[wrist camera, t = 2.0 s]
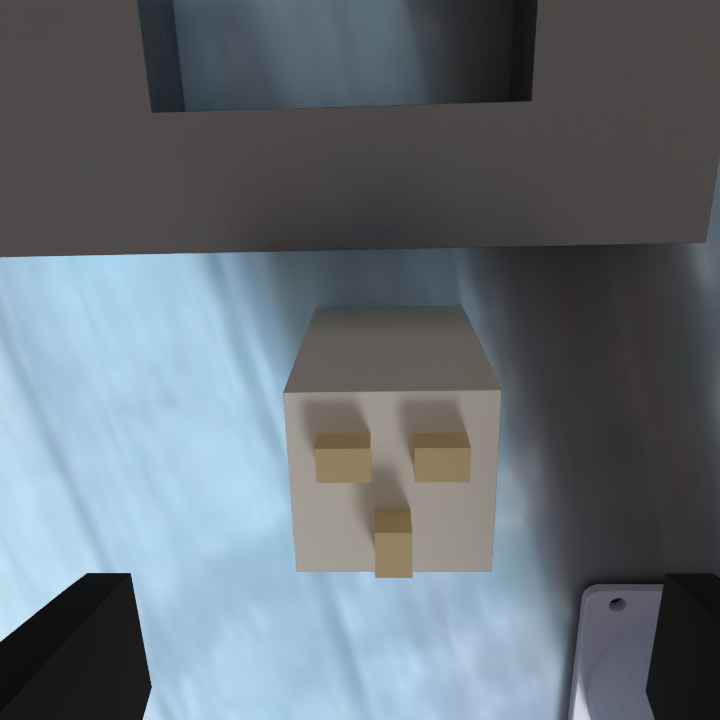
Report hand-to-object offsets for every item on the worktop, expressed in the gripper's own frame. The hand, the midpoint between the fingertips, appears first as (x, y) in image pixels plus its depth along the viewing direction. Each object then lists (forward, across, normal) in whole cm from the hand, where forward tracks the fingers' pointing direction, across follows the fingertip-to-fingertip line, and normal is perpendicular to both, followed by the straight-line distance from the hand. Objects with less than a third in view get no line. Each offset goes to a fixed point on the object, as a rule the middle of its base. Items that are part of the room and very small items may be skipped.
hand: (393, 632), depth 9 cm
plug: (+10, 0, 0) cm, 10 cm away
